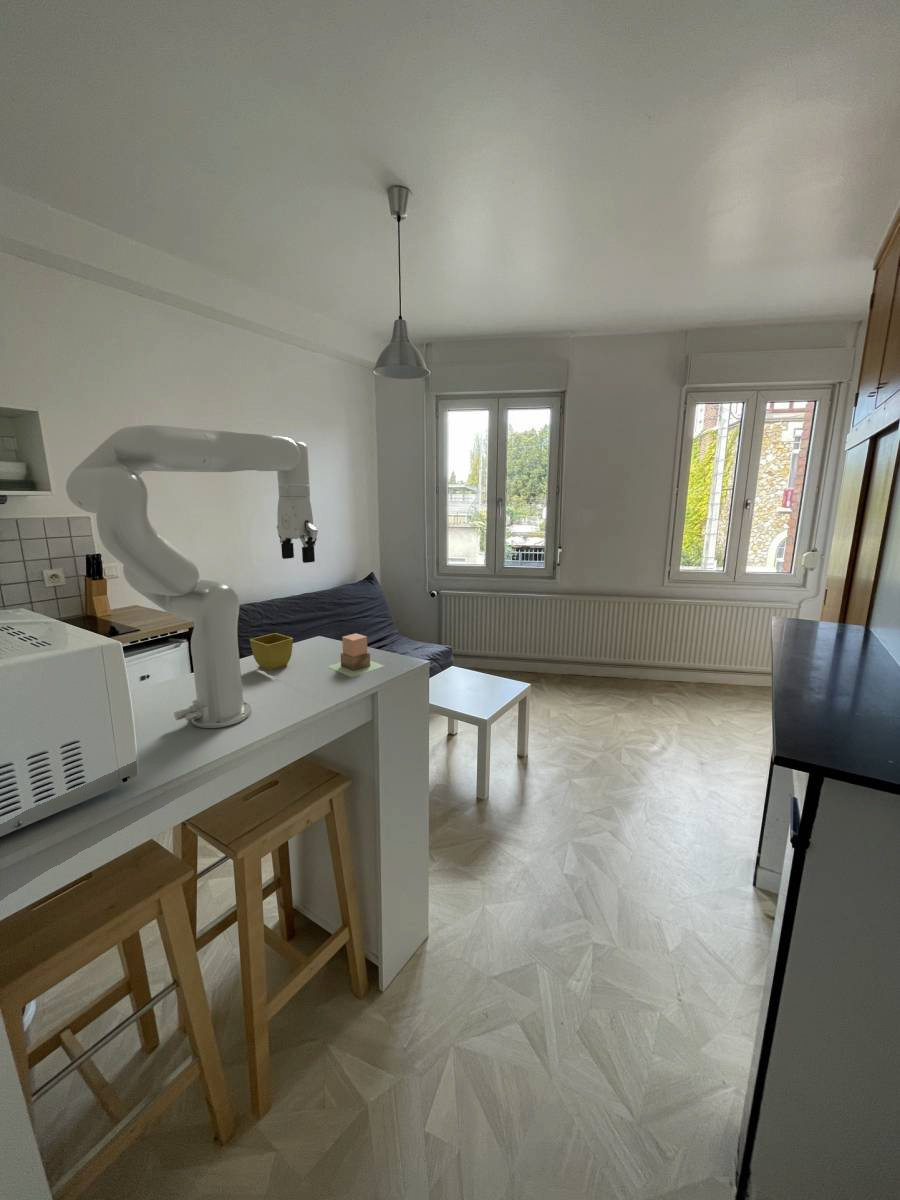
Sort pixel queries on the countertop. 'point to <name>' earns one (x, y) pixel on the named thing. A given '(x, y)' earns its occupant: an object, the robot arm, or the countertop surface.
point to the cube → (354, 645)
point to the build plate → (354, 673)
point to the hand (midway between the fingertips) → (298, 560)
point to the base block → (355, 661)
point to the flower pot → (272, 650)
